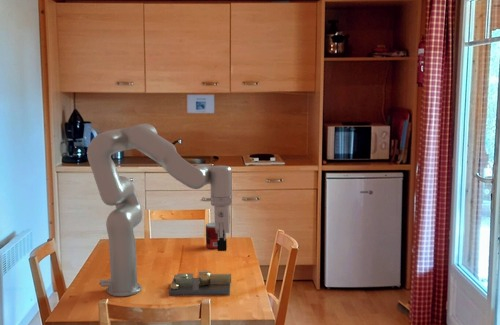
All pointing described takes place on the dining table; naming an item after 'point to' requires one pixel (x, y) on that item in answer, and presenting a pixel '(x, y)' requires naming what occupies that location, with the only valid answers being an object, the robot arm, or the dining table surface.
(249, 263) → the dining table surface
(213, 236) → the canned food
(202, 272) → the lever handle
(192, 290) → the plate
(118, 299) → the dining table surface
